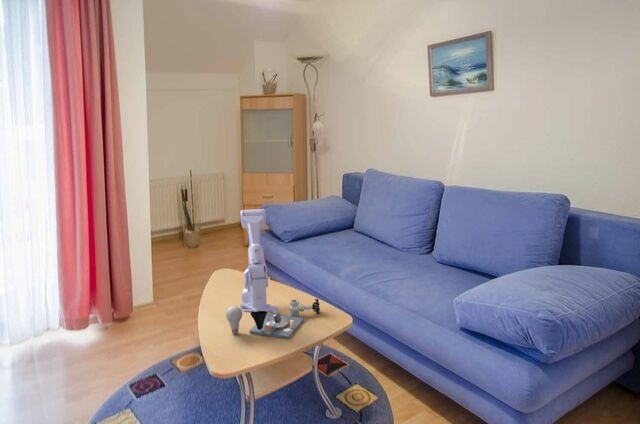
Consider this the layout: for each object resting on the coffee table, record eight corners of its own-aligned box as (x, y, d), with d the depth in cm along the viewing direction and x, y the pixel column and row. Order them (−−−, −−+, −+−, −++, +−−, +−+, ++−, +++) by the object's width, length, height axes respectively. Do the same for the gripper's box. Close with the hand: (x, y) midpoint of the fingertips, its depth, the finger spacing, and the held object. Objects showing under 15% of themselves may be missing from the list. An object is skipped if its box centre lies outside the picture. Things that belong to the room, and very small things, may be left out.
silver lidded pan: (271, 317, 182) (271, 308, 181) (292, 320, 179) (292, 311, 178) (256, 332, 170) (256, 323, 169) (278, 335, 167) (278, 326, 166)
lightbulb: (235, 339, 167) (234, 311, 165) (223, 335, 171) (221, 308, 168) (246, 332, 172) (245, 305, 170) (234, 328, 176) (233, 302, 173)
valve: (290, 320, 182) (320, 317, 184) (290, 304, 181) (319, 302, 183) (288, 313, 189) (317, 310, 191) (288, 298, 187) (317, 295, 189)
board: (249, 333, 172) (249, 323, 171) (267, 315, 187) (267, 306, 186) (288, 339, 167) (288, 328, 166) (303, 320, 182) (303, 311, 181)
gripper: (235, 296, 167) (237, 330, 170) (271, 301, 162) (273, 335, 165) (244, 289, 173) (246, 322, 176) (279, 293, 169) (281, 327, 172)
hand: (260, 328), depth 171 cm, fingers closed
